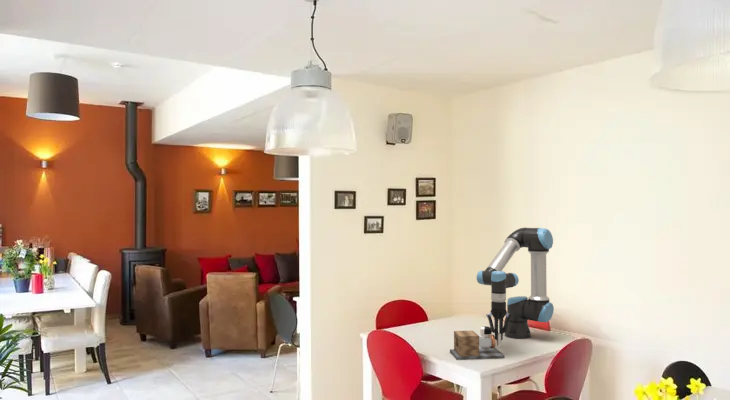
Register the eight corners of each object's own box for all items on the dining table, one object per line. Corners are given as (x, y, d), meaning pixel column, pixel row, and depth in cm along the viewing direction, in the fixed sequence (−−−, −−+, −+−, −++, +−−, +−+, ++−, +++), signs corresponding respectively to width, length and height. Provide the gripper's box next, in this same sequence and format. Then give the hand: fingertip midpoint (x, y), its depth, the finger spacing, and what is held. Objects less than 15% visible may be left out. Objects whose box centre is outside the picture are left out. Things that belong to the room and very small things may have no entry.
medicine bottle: (490, 347, 299) (490, 325, 299) (494, 350, 292) (494, 328, 292) (477, 347, 299) (477, 325, 299) (481, 351, 292) (481, 328, 292)
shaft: (491, 346, 288) (491, 333, 288) (495, 349, 281) (495, 336, 281) (458, 347, 286) (458, 333, 286) (462, 350, 279) (462, 337, 279)
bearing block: (495, 350, 292) (495, 329, 292) (504, 358, 278) (504, 335, 278) (449, 352, 289) (449, 330, 289) (456, 359, 275) (456, 337, 275)
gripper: (488, 302, 280) (489, 348, 280) (513, 302, 281) (513, 347, 281) (484, 299, 288) (484, 344, 288) (508, 299, 289) (508, 343, 289)
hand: (498, 346), depth 284 cm, fingers closed
